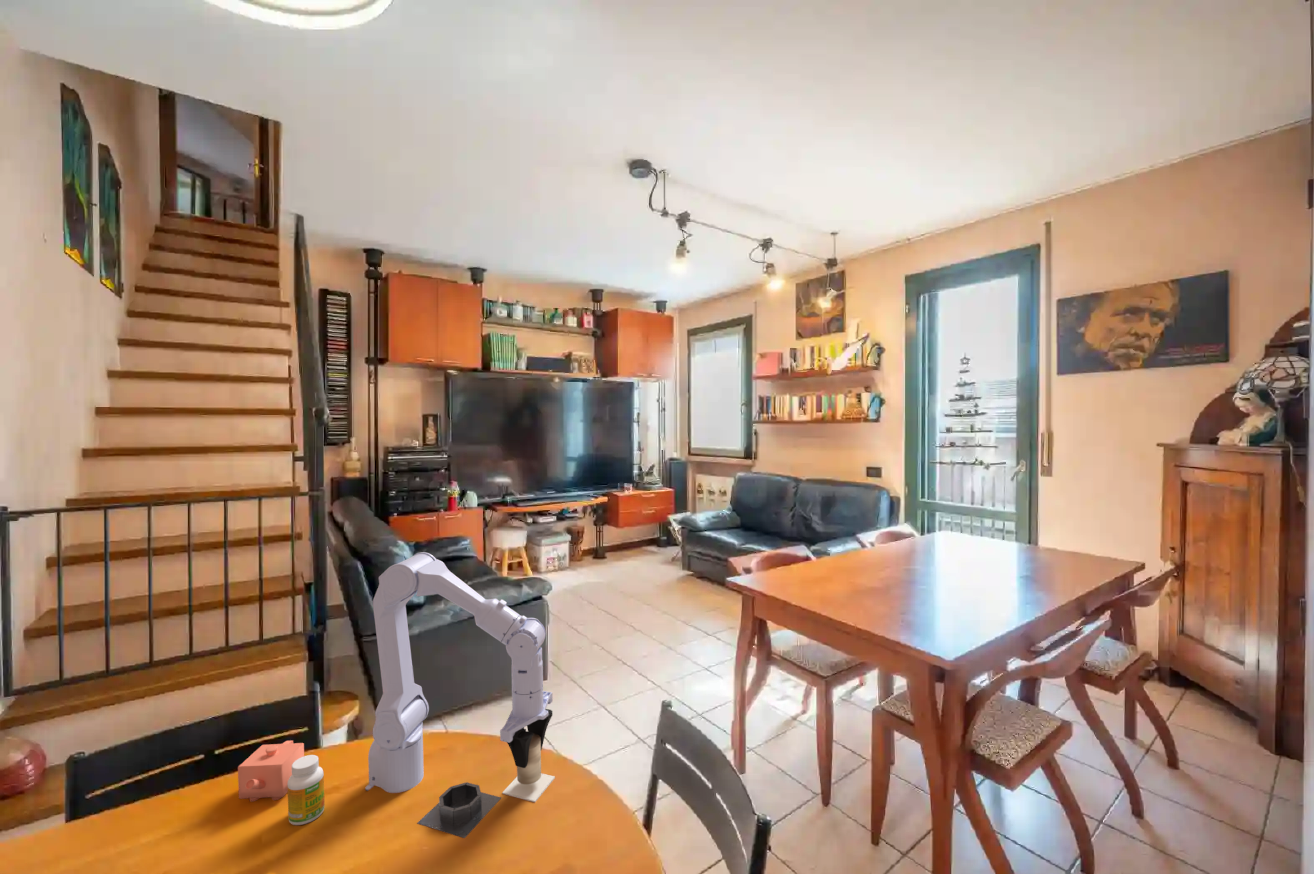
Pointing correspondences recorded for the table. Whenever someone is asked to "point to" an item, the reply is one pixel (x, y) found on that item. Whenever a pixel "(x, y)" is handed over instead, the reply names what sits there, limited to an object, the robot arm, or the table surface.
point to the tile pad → (529, 788)
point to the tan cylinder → (531, 763)
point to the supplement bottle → (305, 790)
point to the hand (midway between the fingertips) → (528, 757)
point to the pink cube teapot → (268, 771)
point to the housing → (459, 809)
